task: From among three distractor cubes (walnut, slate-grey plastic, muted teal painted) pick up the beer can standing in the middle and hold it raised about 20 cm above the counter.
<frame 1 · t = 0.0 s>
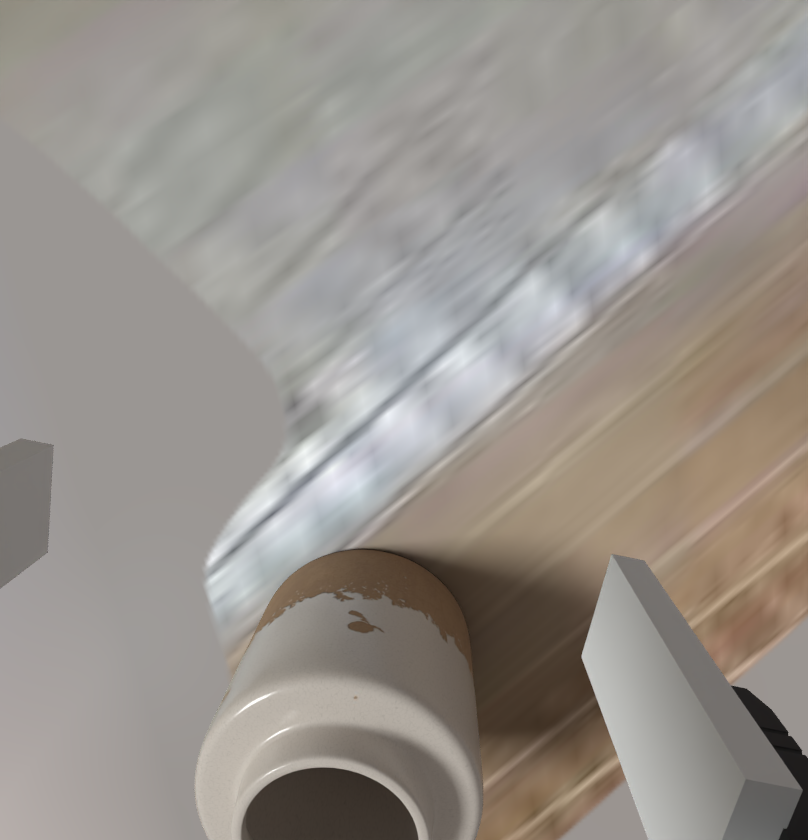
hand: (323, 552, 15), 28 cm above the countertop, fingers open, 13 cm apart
vase: (365, 641, 48), on the countertop
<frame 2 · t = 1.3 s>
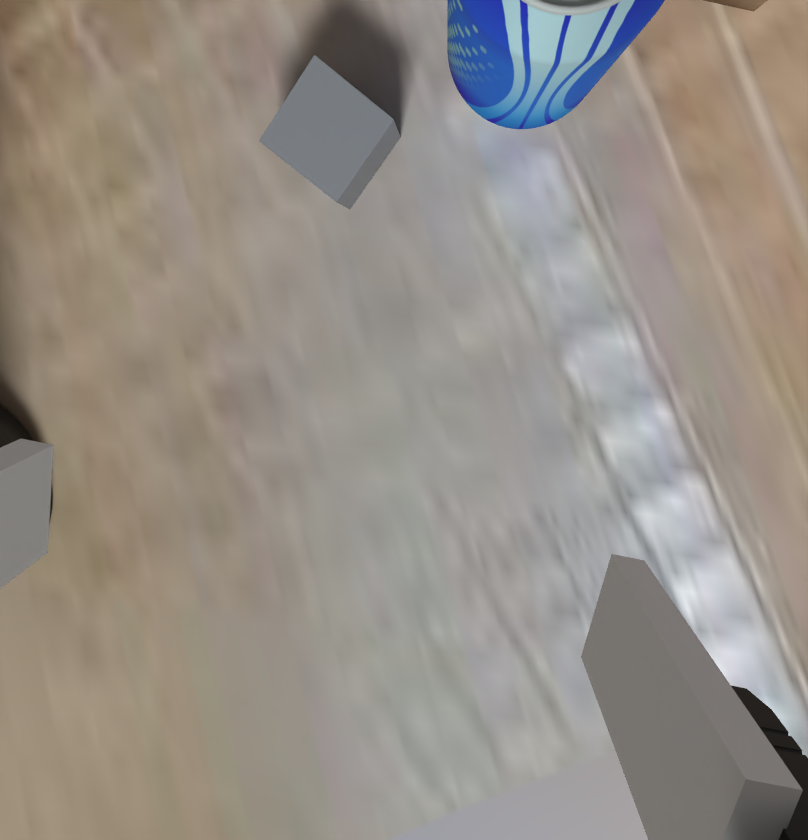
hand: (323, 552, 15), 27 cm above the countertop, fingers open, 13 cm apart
beer can: (522, 53, 36), on the countertop
grey cube: (341, 146, 38), on the countertop
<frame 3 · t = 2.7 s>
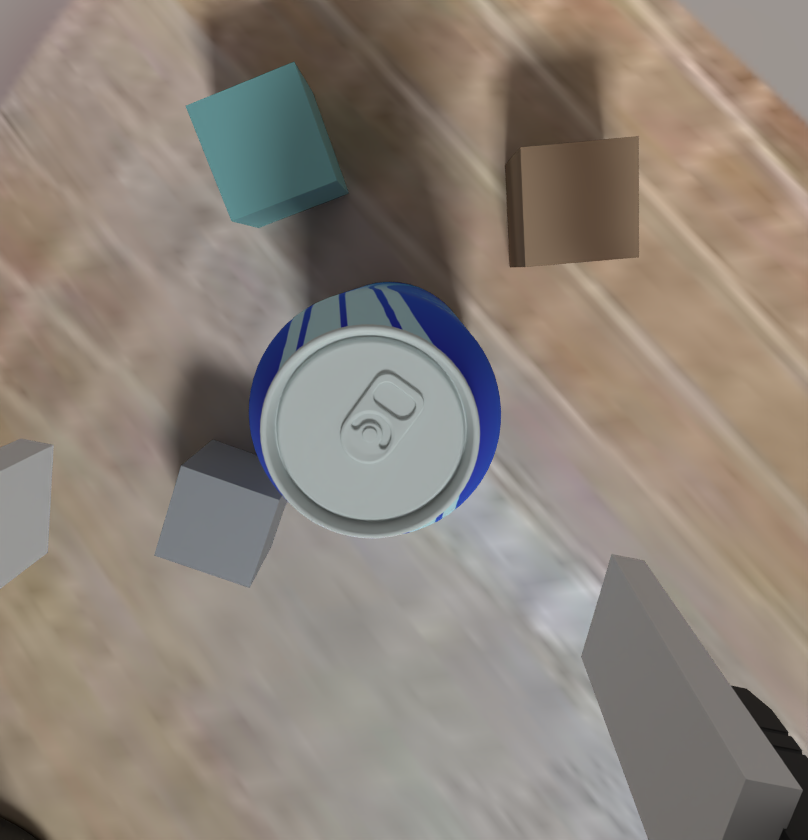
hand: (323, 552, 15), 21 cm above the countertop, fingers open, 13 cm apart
beer can: (391, 360, 35), on the countertop
walnut cube: (556, 212, 33), on the countertop
grey cube: (242, 493, 37), on the countertop
teal cube: (285, 162, 33), on the countertop
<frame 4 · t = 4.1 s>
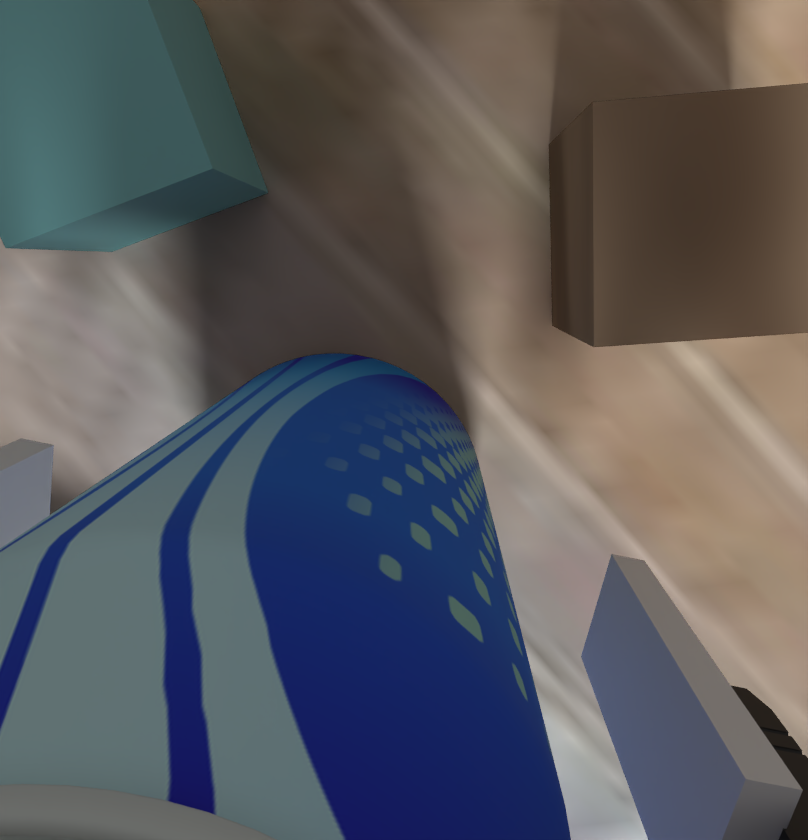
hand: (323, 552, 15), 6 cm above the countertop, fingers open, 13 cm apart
beer can: (345, 477, 21), on the countertop
walnut cube: (638, 231, 18), on the countertop
teal cube: (154, 135, 18), on the countertop
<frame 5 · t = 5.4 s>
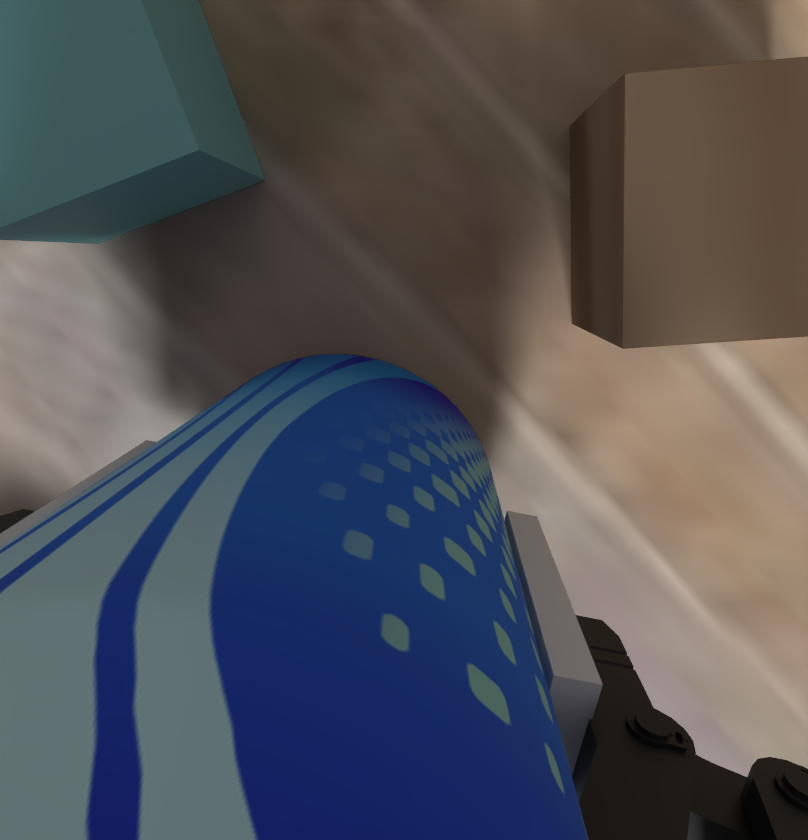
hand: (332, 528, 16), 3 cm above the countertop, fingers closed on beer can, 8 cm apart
beer can: (348, 486, 19), on the countertop, touching gripper
walnut cube: (666, 221, 17), on the countertop
teal cube: (143, 118, 17), on the countertop
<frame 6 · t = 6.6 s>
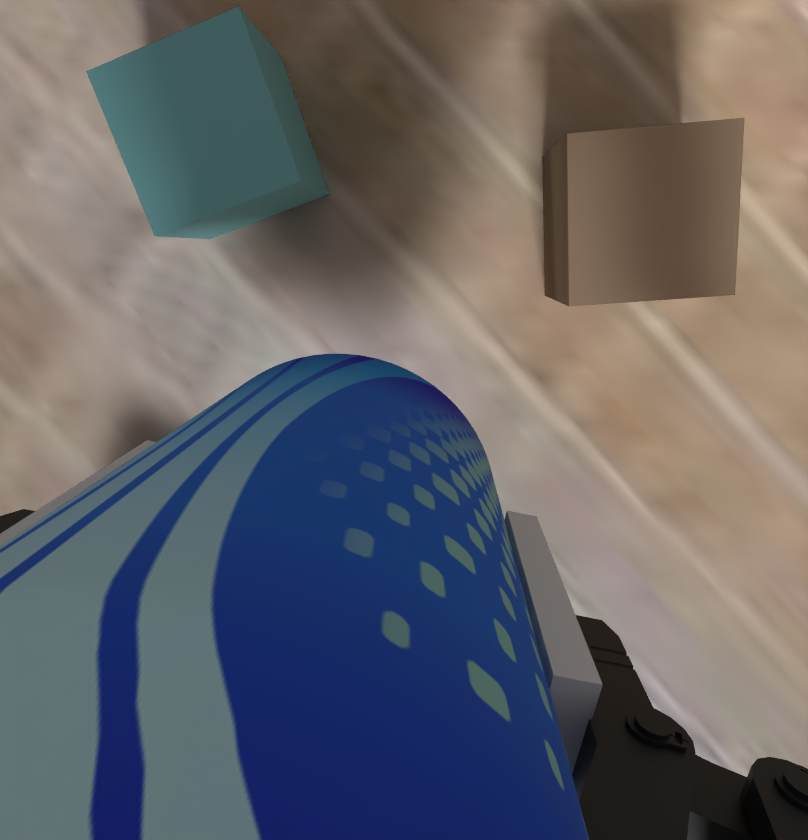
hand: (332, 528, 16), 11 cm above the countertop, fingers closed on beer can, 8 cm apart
beer can: (348, 485, 19), point 7 cm above the countertop, touching gripper
walnut cube: (611, 222, 24), on the countertop
teal cube: (244, 151, 24), on the countertop
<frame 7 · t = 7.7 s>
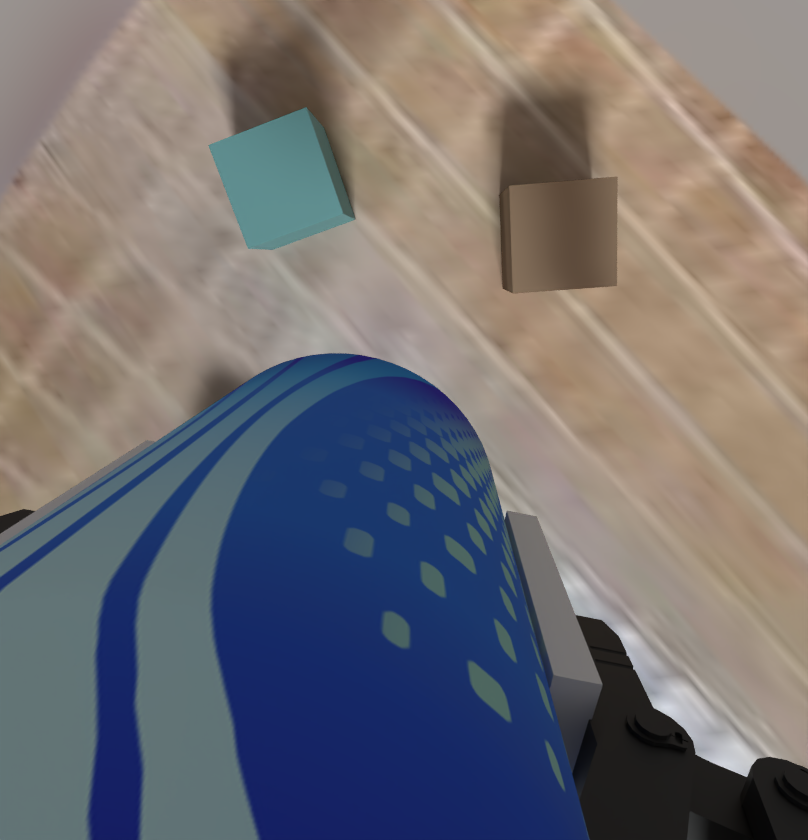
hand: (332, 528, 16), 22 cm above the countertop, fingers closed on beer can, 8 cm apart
beer can: (348, 485, 19), point 19 cm above the countertop, touching gripper
walnut cube: (546, 239, 36), on the countertop
teal cube: (297, 190, 36), on the countertop
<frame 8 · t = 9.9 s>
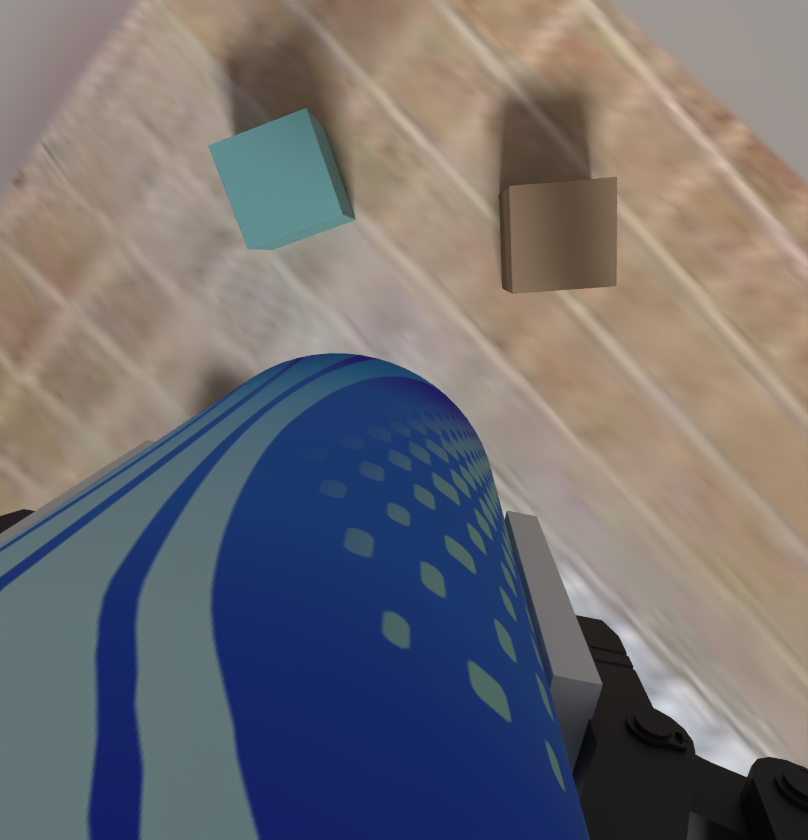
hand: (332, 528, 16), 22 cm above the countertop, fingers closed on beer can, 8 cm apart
beer can: (348, 485, 19), point 19 cm above the countertop, touching gripper
walnut cube: (546, 239, 36), on the countertop
teal cube: (297, 190, 36), on the countertop
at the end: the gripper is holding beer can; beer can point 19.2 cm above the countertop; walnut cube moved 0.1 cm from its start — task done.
